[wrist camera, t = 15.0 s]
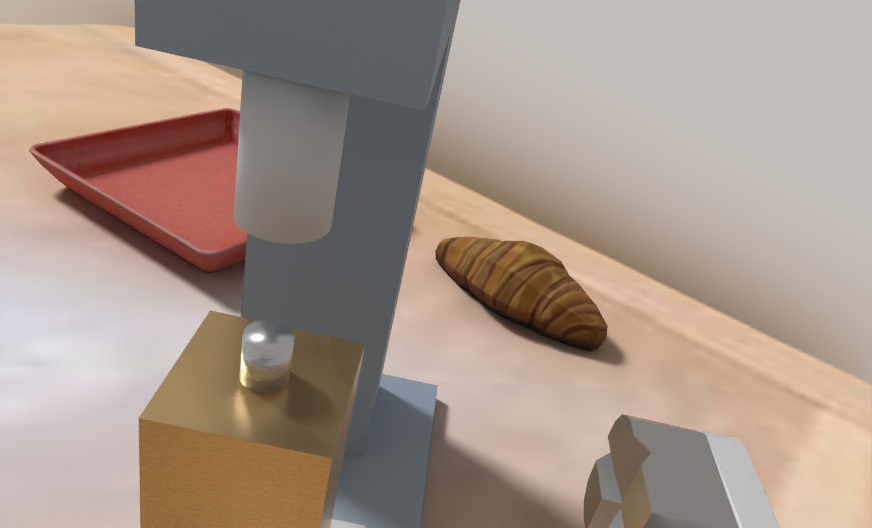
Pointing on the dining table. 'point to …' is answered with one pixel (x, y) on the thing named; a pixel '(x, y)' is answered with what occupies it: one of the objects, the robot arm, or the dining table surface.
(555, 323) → the croissant
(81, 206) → the dining table surface
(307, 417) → the block
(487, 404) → the dining table surface
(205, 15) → the press
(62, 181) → the plant saucer
